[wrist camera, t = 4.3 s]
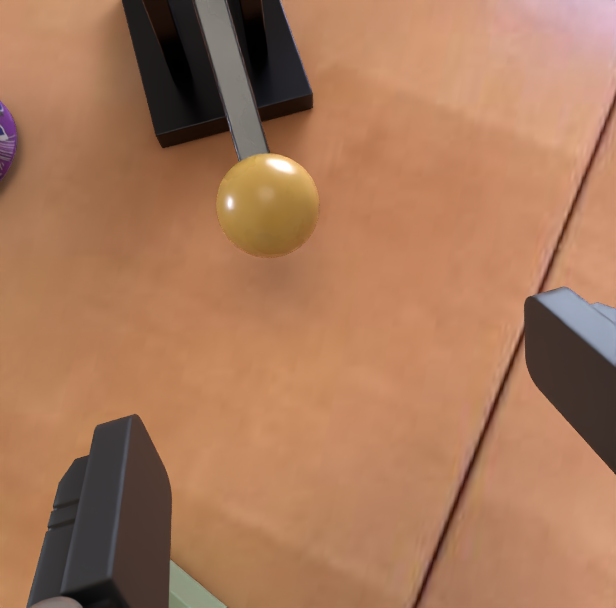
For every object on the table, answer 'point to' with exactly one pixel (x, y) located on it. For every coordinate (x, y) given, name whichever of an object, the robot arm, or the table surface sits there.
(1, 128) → the beverage can
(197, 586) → the green dial knob panel
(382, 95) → the table surface
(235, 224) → the latch lever
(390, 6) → the table surface
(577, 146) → the table surface
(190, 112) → the latch bracket
